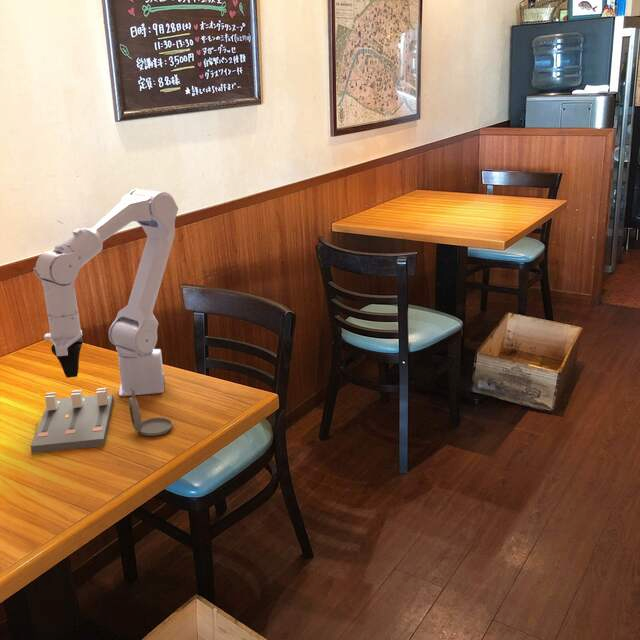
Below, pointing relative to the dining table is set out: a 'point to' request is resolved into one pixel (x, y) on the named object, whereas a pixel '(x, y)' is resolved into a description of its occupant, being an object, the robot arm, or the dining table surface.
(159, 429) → the pocket watch
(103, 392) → the handle
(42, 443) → the panel
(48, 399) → the handle
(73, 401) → the handle
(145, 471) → the dining table surface
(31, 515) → the dining table surface
